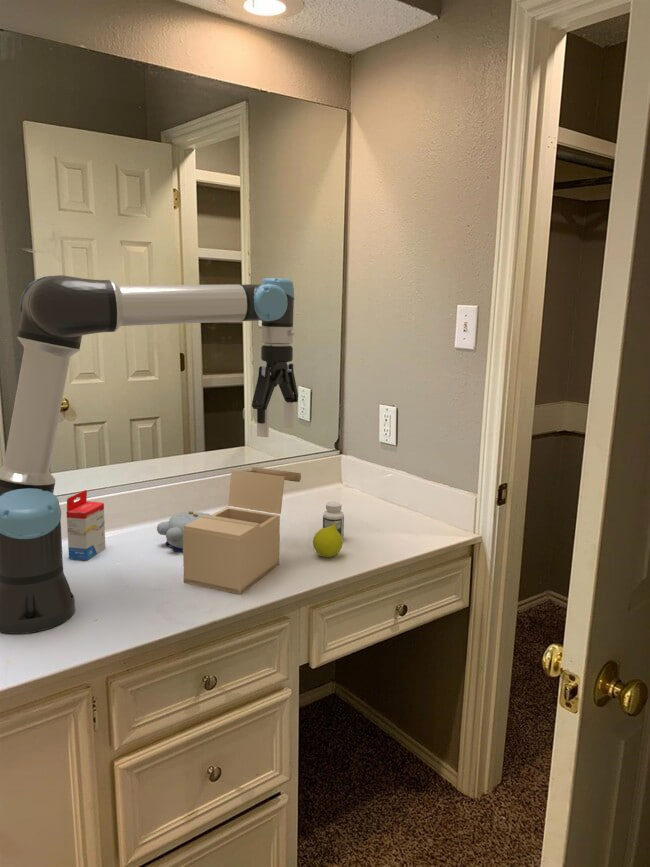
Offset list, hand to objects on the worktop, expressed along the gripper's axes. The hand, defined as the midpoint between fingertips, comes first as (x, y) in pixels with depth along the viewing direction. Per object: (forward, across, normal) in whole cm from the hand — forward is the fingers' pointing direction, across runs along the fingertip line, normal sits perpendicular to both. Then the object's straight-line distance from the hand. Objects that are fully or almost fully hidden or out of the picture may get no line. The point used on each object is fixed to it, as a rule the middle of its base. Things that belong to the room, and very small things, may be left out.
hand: (275, 432), depth 160 cm
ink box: (+29, -26, +37) cm, 54 cm away
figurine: (+29, -7, +17) cm, 35 cm away
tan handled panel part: (+12, -11, 0) cm, 16 cm away
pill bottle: (+29, +9, -12) cm, 33 cm away
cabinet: (+29, -21, 0) cm, 35 cm away
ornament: (+29, -2, -15) cm, 33 cm away
